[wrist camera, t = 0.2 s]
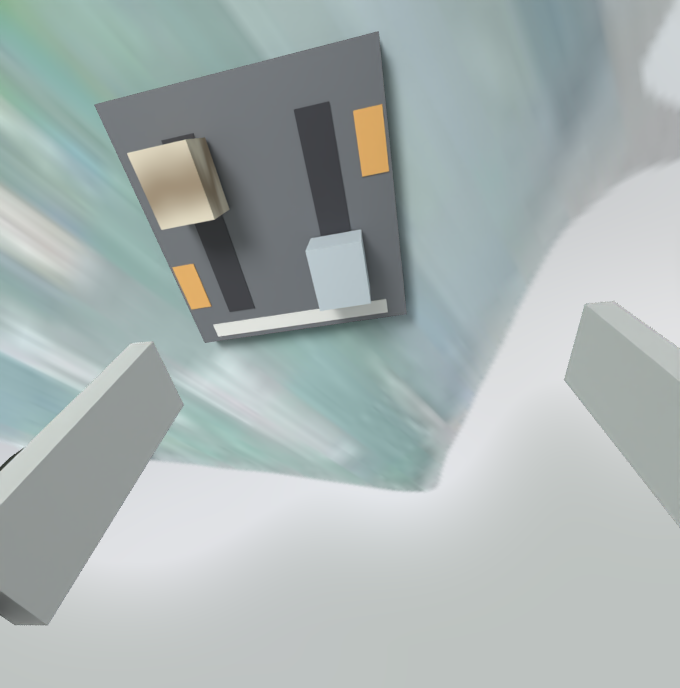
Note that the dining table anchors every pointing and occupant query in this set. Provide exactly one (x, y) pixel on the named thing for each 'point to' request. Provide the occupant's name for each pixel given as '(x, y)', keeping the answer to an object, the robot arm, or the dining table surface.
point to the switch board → (275, 184)
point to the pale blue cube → (339, 270)
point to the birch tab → (180, 182)
